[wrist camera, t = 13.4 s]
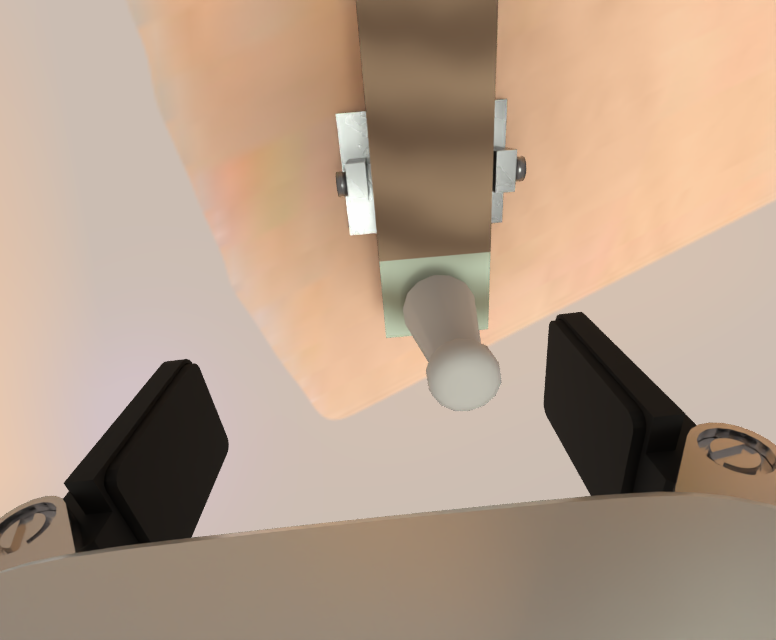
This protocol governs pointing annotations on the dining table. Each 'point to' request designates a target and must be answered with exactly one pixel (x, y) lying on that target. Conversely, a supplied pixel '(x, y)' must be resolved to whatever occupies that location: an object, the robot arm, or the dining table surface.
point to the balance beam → (430, 142)
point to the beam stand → (359, 179)
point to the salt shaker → (451, 343)
